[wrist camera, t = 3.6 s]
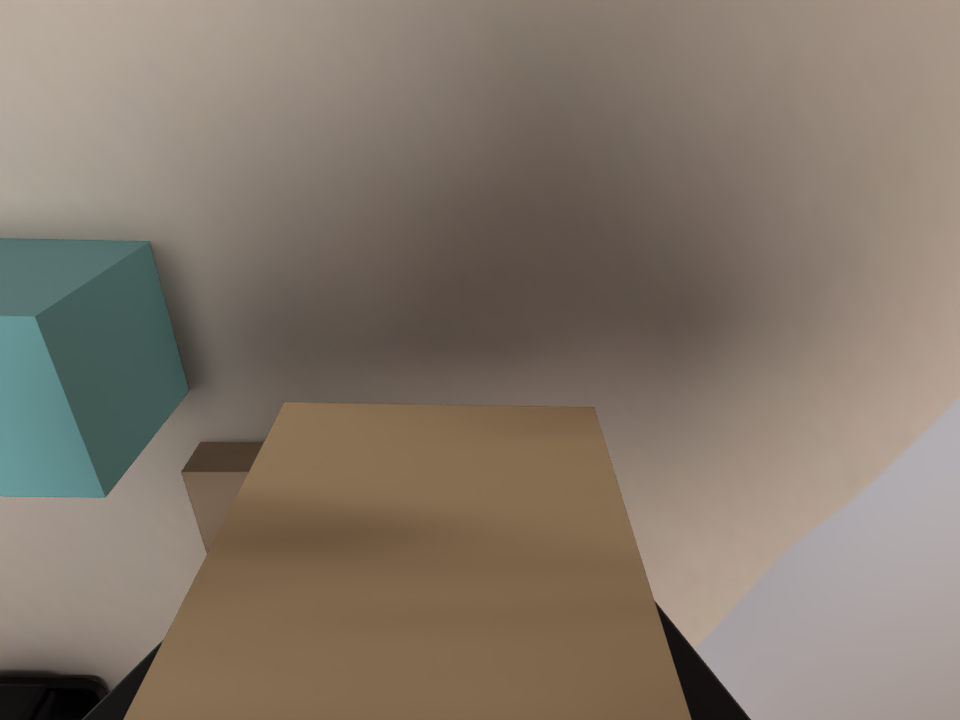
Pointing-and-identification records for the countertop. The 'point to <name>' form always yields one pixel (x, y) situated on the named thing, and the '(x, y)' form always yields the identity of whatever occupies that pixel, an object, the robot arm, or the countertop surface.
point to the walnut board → (216, 482)
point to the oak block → (420, 577)
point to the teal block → (81, 364)
